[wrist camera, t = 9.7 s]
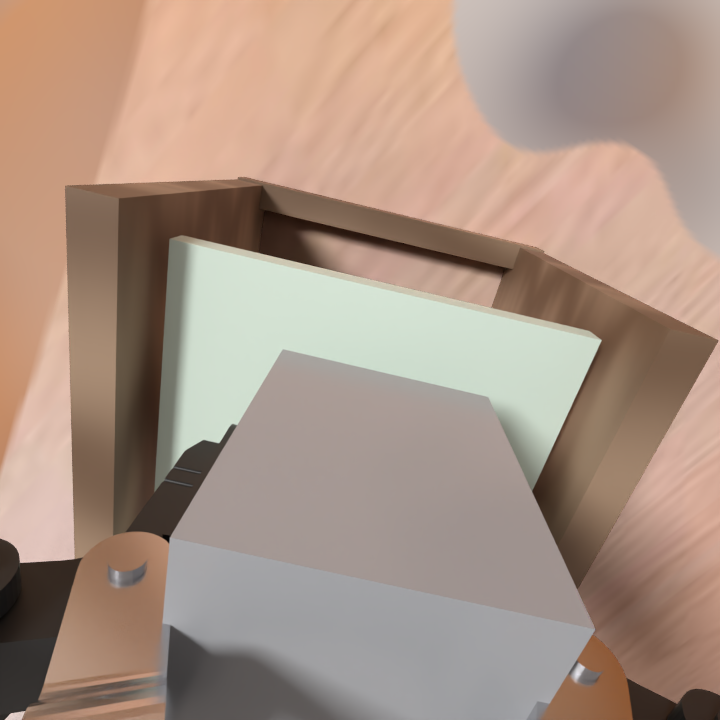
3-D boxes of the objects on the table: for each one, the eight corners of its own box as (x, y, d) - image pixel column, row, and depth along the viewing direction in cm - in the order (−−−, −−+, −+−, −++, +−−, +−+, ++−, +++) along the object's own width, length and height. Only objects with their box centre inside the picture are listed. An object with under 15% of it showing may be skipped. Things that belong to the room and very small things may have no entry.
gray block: (488, 397, 11) (595, 628, 5) (429, 552, 13) (462, 843, 7) (282, 349, 11) (169, 537, 5) (253, 513, 13) (148, 782, 7)
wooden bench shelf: (446, 491, 30) (493, 737, 17) (214, 441, 29) (77, 654, 16) (536, 247, 24) (720, 336, 11) (244, 177, 23) (64, 181, 10)
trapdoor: (397, 689, 24) (399, 781, 21) (176, 645, 24) (138, 731, 20) (553, 303, 16) (603, 341, 12) (219, 224, 16) (167, 239, 12)
